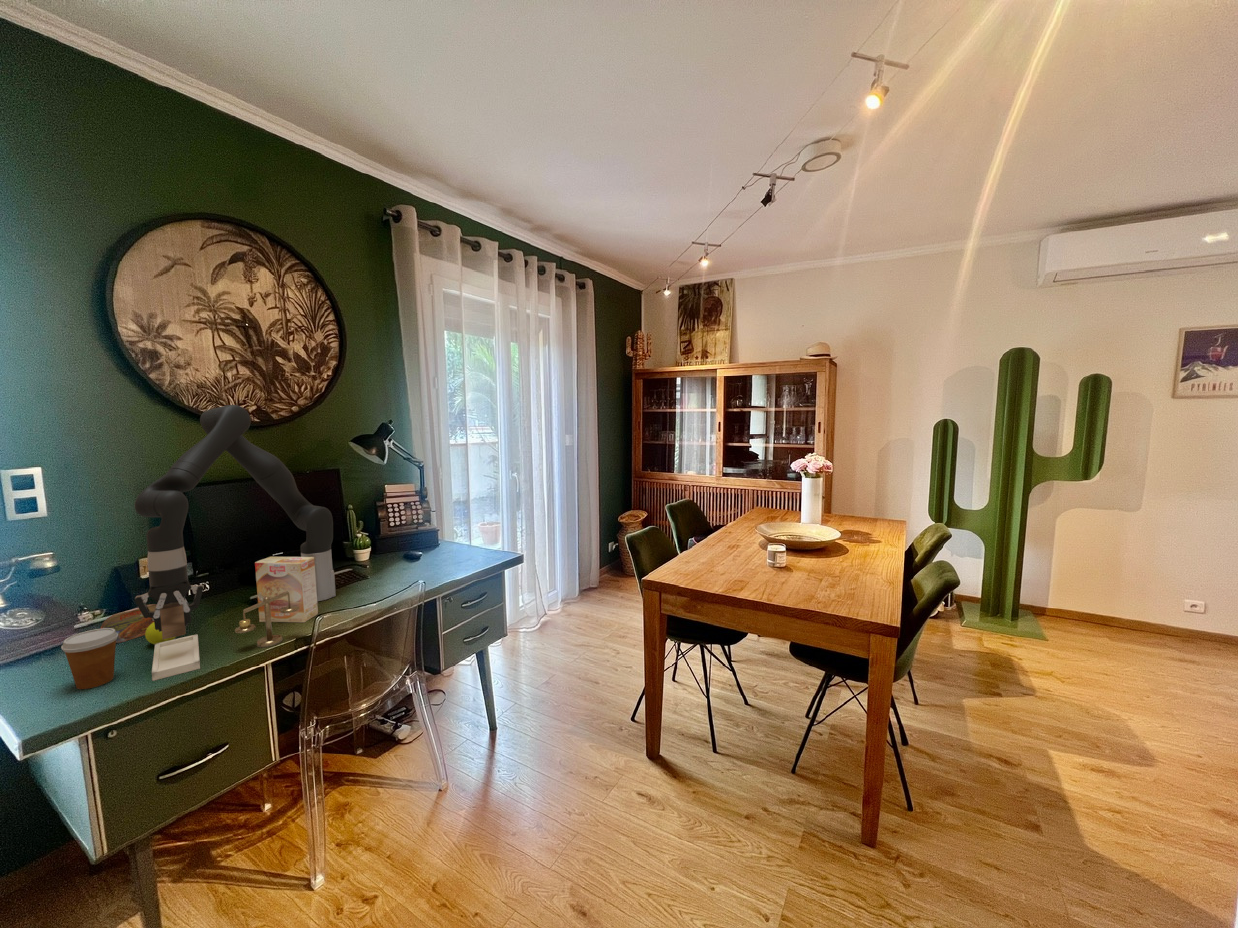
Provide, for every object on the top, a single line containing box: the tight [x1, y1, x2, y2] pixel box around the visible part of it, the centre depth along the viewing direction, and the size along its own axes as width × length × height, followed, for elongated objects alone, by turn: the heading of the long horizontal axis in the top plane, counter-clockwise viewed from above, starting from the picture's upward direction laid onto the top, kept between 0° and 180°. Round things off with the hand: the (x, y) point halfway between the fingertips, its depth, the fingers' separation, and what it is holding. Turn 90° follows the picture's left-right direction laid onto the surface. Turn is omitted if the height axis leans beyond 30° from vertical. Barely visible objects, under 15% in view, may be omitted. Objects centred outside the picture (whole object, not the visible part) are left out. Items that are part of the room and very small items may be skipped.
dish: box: [151, 633, 201, 682], centre depth 133 cm, size 9×21×2 cm, turn 41°
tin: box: [100, 603, 157, 644], centre depth 147 cm, size 15×3×8 cm, turn 153°
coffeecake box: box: [254, 556, 319, 623], centre depth 158 cm, size 15×7×20 cm, turn 87°
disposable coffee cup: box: [60, 628, 118, 690], centre depth 121 cm, size 10×10×12 cm
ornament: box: [144, 622, 176, 645], centre depth 141 cm, size 7×7×10 cm
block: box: [160, 602, 187, 639], centre depth 132 cm, size 4×4×8 cm
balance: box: [234, 591, 299, 649], centre depth 141 cm, size 15×6×14 cm, turn 131°
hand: (173, 627), depth 132 cm, fingers closed on block, 4 cm apart
